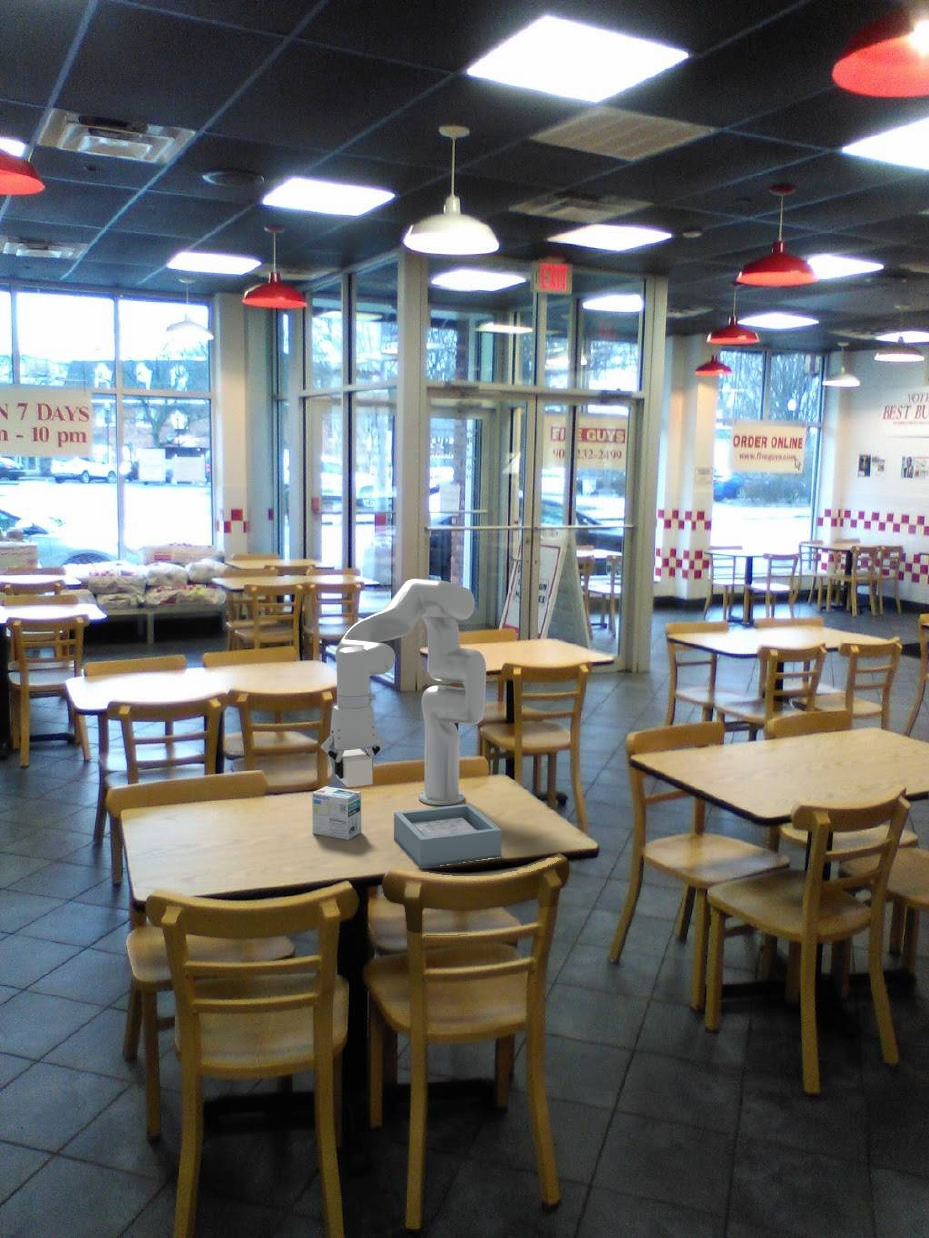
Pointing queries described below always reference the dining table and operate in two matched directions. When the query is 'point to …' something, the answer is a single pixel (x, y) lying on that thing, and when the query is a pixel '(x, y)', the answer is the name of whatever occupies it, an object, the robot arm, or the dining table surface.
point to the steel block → (443, 827)
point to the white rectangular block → (356, 768)
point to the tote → (447, 837)
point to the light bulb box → (336, 812)
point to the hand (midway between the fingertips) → (353, 774)
